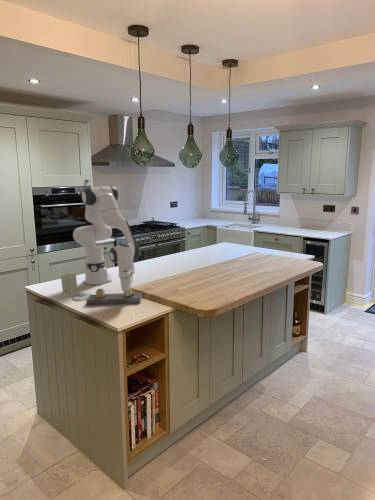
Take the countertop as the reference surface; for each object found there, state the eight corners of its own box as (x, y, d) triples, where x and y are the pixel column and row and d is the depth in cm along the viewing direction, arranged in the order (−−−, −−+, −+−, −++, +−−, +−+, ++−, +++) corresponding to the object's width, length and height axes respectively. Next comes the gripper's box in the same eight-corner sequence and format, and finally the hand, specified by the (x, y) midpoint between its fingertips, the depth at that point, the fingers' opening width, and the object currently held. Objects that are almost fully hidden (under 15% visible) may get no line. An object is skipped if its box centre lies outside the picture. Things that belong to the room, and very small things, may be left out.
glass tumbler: (74, 290, 247) (72, 272, 244) (80, 293, 240) (78, 274, 237) (60, 293, 241) (58, 275, 238) (66, 296, 234) (64, 277, 231)
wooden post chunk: (125, 299, 224) (124, 287, 222) (132, 299, 224) (131, 286, 222) (124, 301, 220) (123, 289, 218) (131, 301, 220) (130, 289, 218)
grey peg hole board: (91, 299, 227) (90, 294, 226) (142, 297, 227) (141, 292, 226) (87, 305, 217) (86, 300, 216) (140, 303, 217) (139, 297, 217)
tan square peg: (98, 301, 224) (97, 288, 222) (105, 300, 224) (104, 288, 222) (97, 303, 220) (95, 290, 218) (104, 303, 220) (102, 290, 218)
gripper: (123, 266, 228) (125, 288, 231) (118, 275, 208) (120, 300, 211) (134, 265, 229) (135, 288, 231) (129, 275, 209) (131, 299, 211)
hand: (128, 293), depth 221 cm, fingers open, 4 cm apart
